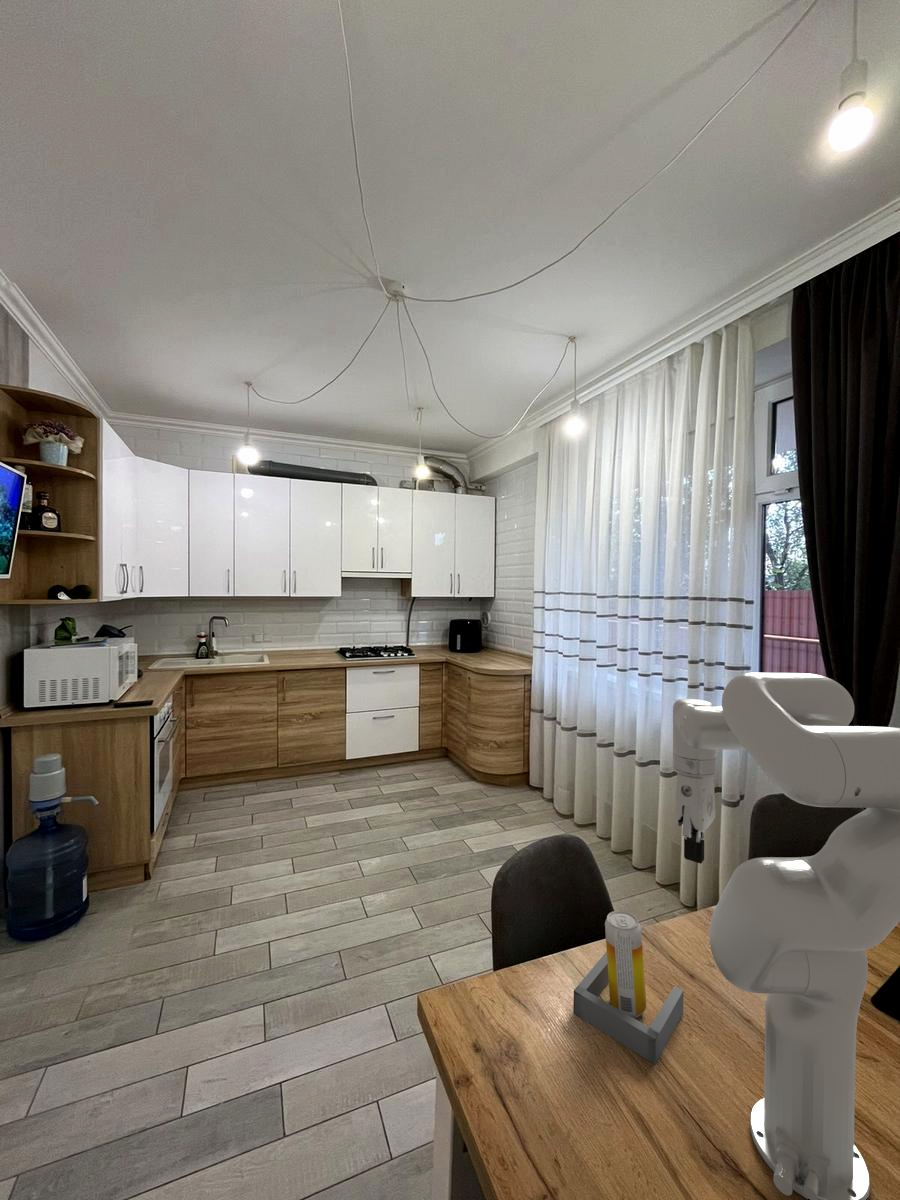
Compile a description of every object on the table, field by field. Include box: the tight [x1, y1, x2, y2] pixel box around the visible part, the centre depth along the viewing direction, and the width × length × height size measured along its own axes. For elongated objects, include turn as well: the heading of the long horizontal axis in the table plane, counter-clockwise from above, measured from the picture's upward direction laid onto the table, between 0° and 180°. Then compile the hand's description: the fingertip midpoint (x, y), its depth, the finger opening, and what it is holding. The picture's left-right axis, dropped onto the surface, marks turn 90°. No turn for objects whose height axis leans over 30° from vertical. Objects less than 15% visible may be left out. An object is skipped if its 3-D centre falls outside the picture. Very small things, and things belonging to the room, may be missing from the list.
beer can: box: [604, 910, 647, 1019], centre depth 88 cm, size 6×6×15 cm
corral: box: [572, 951, 684, 1066], centre depth 86 cm, size 13×14×4 cm
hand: (694, 859), depth 96 cm, fingers closed
